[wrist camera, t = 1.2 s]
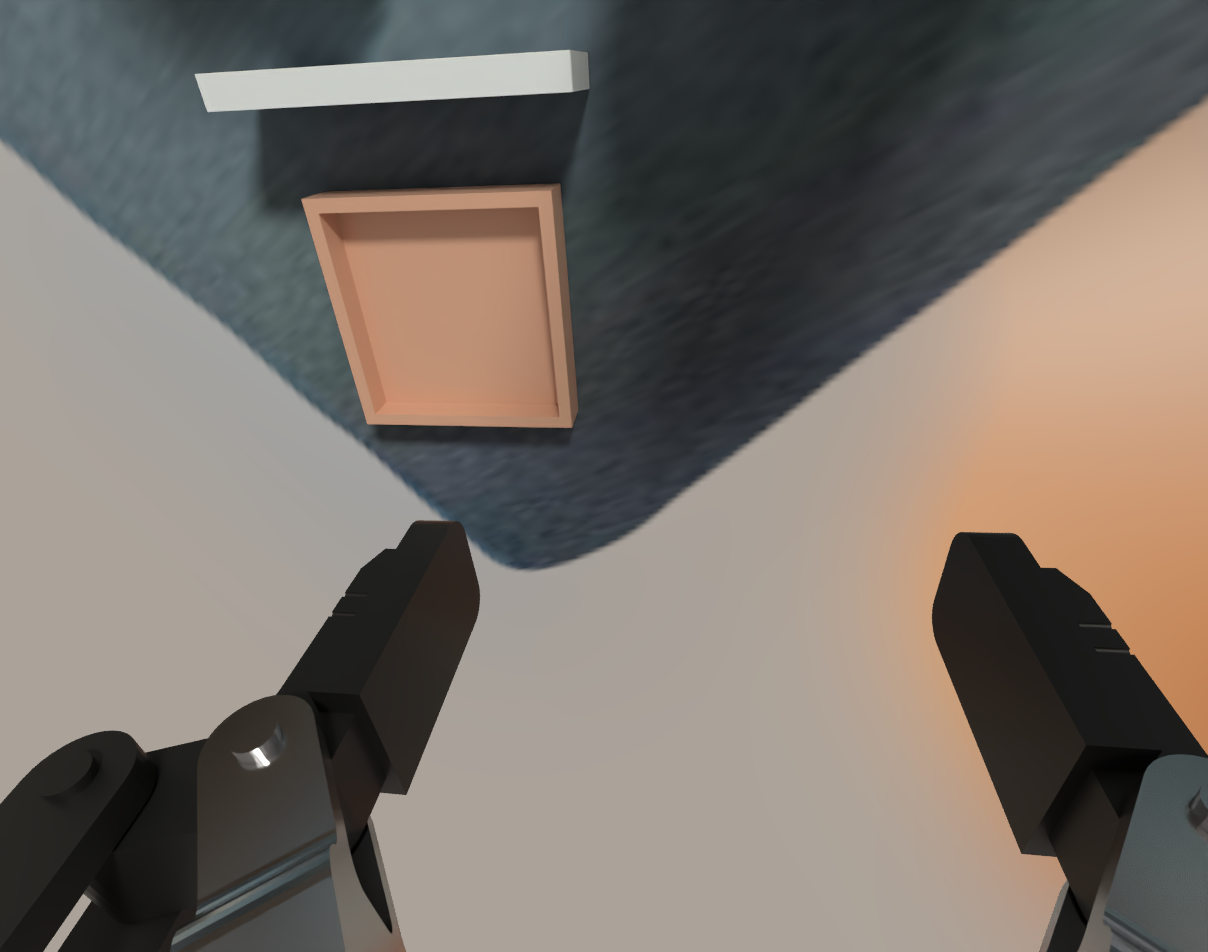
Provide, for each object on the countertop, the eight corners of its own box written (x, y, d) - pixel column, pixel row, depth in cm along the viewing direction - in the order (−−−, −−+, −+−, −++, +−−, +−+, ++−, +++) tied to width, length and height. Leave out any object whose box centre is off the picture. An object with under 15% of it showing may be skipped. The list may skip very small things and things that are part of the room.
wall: (258, 73, 26) (194, 74, 23) (587, 52, 24) (570, 49, 21) (268, 106, 26) (207, 111, 23) (589, 88, 25) (572, 91, 21)
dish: (324, 191, 28) (301, 198, 26) (560, 183, 27) (551, 190, 25) (383, 407, 34) (367, 423, 33) (578, 409, 33) (572, 427, 31)
